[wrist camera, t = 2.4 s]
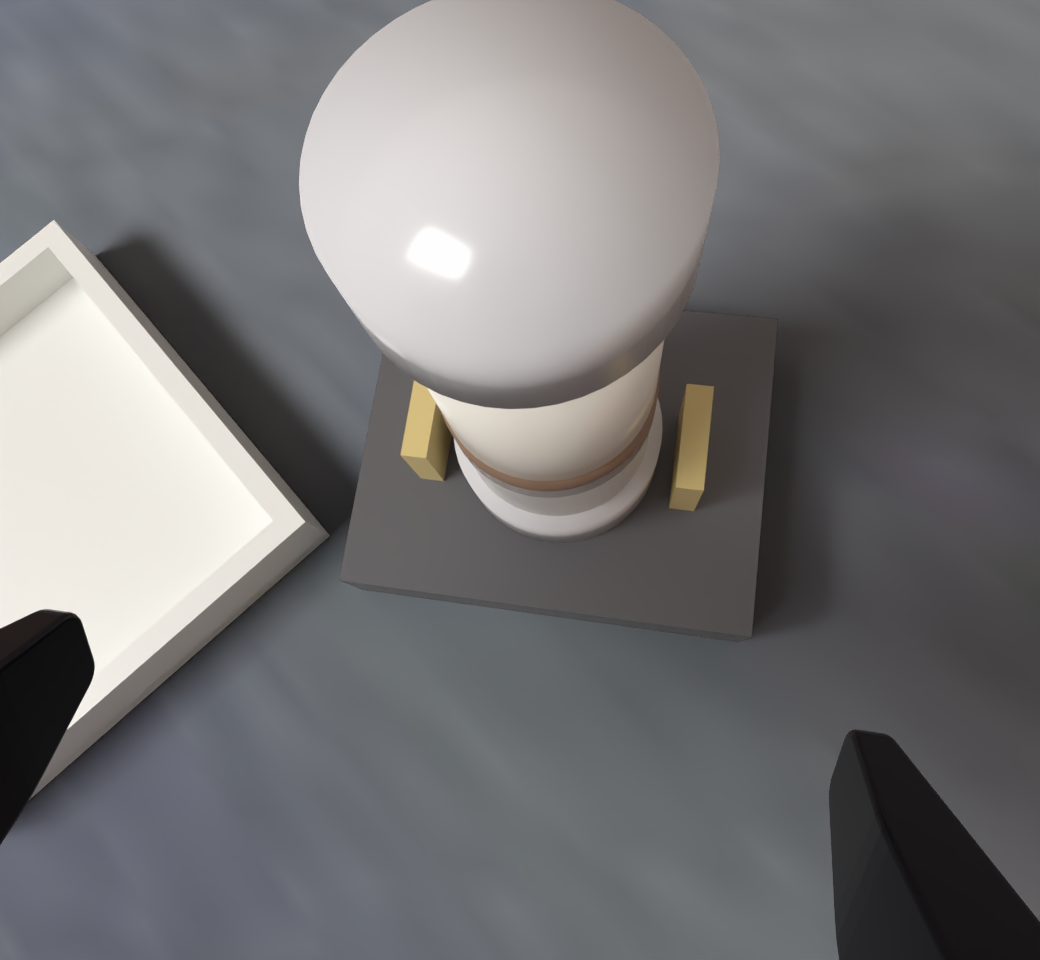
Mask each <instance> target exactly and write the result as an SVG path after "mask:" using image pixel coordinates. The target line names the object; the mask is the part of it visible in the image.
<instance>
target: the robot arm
mask: <svg viewBox="0 0 1040 960" xmlns="http://www.w3.org/2000/svg"><path fill="white" fill-rule="evenodd" d="M94 670H95V662H94V658H93V655H92V652H91V649H90V646H89V643H88V639H87V636H86V633H85V630H84V627H83V624H82V621H81V619H80V618H79V617H78V616H77V615H76V614H74V613H72V612H65V611H59V610H52V609H42V610H38V611H36V612H34V613H31V614H29V615H27V616H25V617H23V618H21V619H19V620H17V621H15V622H13V623H11V624H9V625H6V626H4V627H2V628H0V845H1V843H2V841H3V840H4V838H5V837H6V835H7V834H8V832H9V831H10V829H11V828H12V826H13V825H14V823H15V821H16V820H17V818H18V817H19V815H20V814H21V812H22V811H23V809H24V807H25V806H26V804H27V802H28V801H29V799H30V798H31V796H32V794H33V793H34V791H35V789H36V787H37V785H38V784H39V782H40V780H41V778H42V776H43V775H44V773H45V771H46V769H47V767H48V765H49V763H50V761H51V759H52V757H53V755H54V753H55V751H56V750H57V748H58V746H59V744H60V742H61V740H62V738H63V736H64V734H65V732H66V730H67V728H68V726H69V725H70V723H71V721H72V719H73V717H74V715H75V713H76V711H77V709H78V707H79V705H80V703H81V701H82V699H83V698H84V696H85V694H86V692H87V690H88V688H89V686H90V684H91V682H92V679H93V676H94ZM829 809H830V829H831V849H832V868H833V888H834V908H835V925H836V939H837V947H838V954H839V960H1040V921H1039V920H1038V919H1037V918H1036V916H1035V915H1034V914H1033V913H1032V911H1031V910H1030V909H1029V908H1028V906H1027V905H1026V904H1025V903H1024V901H1023V900H1022V899H1021V898H1020V896H1019V895H1018V894H1017V893H1016V891H1015V890H1014V889H1013V888H1012V886H1011V885H1010V884H1009V883H1008V881H1007V880H1006V879H1005V878H1004V876H1003V875H1002V874H1001V873H1000V871H999V870H998V869H997V868H996V866H995V865H994V864H993V863H992V861H991V860H990V859H989V858H988V856H987V855H986V854H985V853H984V851H983V850H982V849H981V848H980V846H979V845H978V844H977V843H976V841H975V840H974V839H973V838H972V836H971V835H970V834H969V833H968V831H967V830H966V829H965V828H964V826H963V825H962V824H961V823H960V821H959V820H958V819H957V818H956V816H955V815H954V814H953V813H952V811H951V810H950V809H949V808H948V806H947V805H946V804H945V803H944V801H943V800H942V799H941V798H940V796H939V795H938V794H937V793H936V791H935V790H934V789H933V788H932V786H931V785H930V784H929V783H928V781H927V780H926V779H925V778H924V776H923V775H922V774H921V773H920V771H919V770H918V769H917V768H916V766H915V765H914V764H913V763H912V761H911V760H910V759H909V758H908V756H907V755H906V754H905V753H904V751H903V750H902V749H901V748H900V746H899V745H898V744H897V743H896V741H895V740H894V739H893V738H891V737H890V736H888V735H886V734H882V733H875V732H869V731H862V730H852V731H850V732H849V733H848V734H847V735H846V737H845V740H844V743H843V746H842V748H841V751H840V754H839V757H838V760H837V763H836V766H835V769H834V772H833V775H832V778H831V783H830V790H829Z"/></svg>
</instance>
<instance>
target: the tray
mask: <svg viewBox="0 0 1040 960" xmlns="http://www.w3.org/2000/svg"><path fill="white" fill-rule="evenodd" d="M329 536H330V535H329V534H328V533H327V531H326V530H325V529H324V528H323V527H322V525H321V524H320V523H319V522H318V521H317V519H316V518H315V517H314V516H313V515H312V513H311V512H310V511H309V510H308V509H307V507H306V506H305V505H304V504H303V503H302V502H301V500H300V499H299V498H298V497H297V496H296V494H295V493H294V492H293V491H292V490H291V488H290V487H289V486H288V485H287V484H286V482H285V481H284V480H283V479H282V478H281V476H280V475H279V474H278V473H277V472H276V470H275V469H274V468H273V467H272V466H271V465H270V463H269V462H268V461H267V460H266V459H265V457H264V456H263V455H262V454H261V453H260V451H259V450H258V449H257V448H256V447H255V445H254V444H253V443H252V442H251V441H250V439H249V438H248V437H247V436H246V435H245V434H244V432H243V431H242V430H241V429H240V428H239V426H238V425H237V424H236V423H235V422H234V420H233V419H232V418H231V417H230V416H229V414H228V413H227V412H226V411H225V410H224V408H223V407H222V406H221V405H220V404H219V403H218V401H217V400H216V399H215V398H214V397H213V395H212V394H211V393H210V392H209V391H208V389H207V388H206V387H205V386H204V385H203V383H202V382H201V381H200V380H199V379H198V377H197V376H196V375H195V374H194V373H193V371H192V370H191V369H190V368H189V367H188V366H187V364H186V363H185V362H184V361H183V360H182V358H181V357H180V356H179V355H178V354H177V352H176V351H175V350H174V349H173V348H172V346H171V345H170V344H169V343H168V342H167V340H166V339H165V338H164V337H163V336H162V335H161V333H160V332H159V331H158V330H157V329H156V327H155V326H154V325H153V324H152V323H151V321H150V320H149V319H148V318H147V317H146V315H145V314H144V313H143V312H142V311H141V309H140V308H139V307H138V306H137V305H136V303H135V302H134V301H133V300H132V299H131V298H130V296H129V295H128V294H127V293H126V292H125V290H124V289H123V288H122V287H121V286H120V284H119V283H118V282H117V281H116V280H115V278H114V277H113V276H112V275H111V274H110V272H109V271H108V270H107V269H106V268H105V267H104V265H103V264H102V263H101V262H100V261H99V259H98V258H97V257H96V256H95V255H94V254H93V253H92V252H91V251H90V250H88V249H87V248H86V247H85V246H84V245H83V244H81V243H80V242H79V241H78V240H77V239H76V238H74V237H73V236H72V235H71V234H70V233H68V232H67V231H66V230H65V229H64V228H63V227H61V226H60V225H59V224H58V223H57V222H56V221H54V220H53V221H52V222H51V223H50V224H48V225H47V226H46V227H45V228H43V229H42V230H41V231H40V232H38V233H37V234H36V235H35V236H33V237H32V238H31V239H30V240H29V241H27V242H26V243H25V244H24V245H22V246H21V247H20V248H19V249H17V250H16V251H15V252H14V253H12V254H11V255H10V256H9V257H7V258H6V259H5V260H4V261H2V262H1V263H0V628H2V627H4V626H6V625H9V624H11V623H13V622H15V621H17V620H19V619H21V618H23V617H25V616H27V615H29V614H31V613H34V612H36V611H38V610H42V609H52V610H59V611H65V612H72V613H74V614H76V615H77V616H78V617H79V618H80V619H81V621H82V624H83V627H84V630H85V633H86V636H87V639H88V643H89V646H90V649H91V652H92V655H93V658H94V662H95V670H94V676H93V679H92V682H91V684H90V686H89V688H88V690H87V692H86V694H85V696H84V698H83V699H82V701H81V703H80V705H79V707H78V709H77V711H76V713H75V715H74V717H73V719H72V721H71V723H70V725H69V726H68V728H67V730H66V732H65V734H64V736H63V738H62V740H61V742H60V744H59V746H58V748H57V750H56V751H55V753H54V755H53V757H52V759H51V761H50V763H49V765H48V767H47V769H46V771H45V773H44V775H43V776H42V778H41V780H40V782H39V784H38V785H37V787H36V789H35V791H34V793H33V794H32V796H31V798H32V797H33V796H34V795H36V794H37V793H38V792H39V791H40V790H41V789H42V788H43V787H45V786H46V785H47V784H48V783H49V782H50V781H51V780H53V779H54V778H55V777H56V776H57V775H58V774H59V773H61V772H62V771H63V770H64V769H65V768H66V767H67V766H69V765H70V764H71V763H72V762H73V761H74V760H75V759H77V758H78V757H79V756H80V755H81V754H82V753H83V752H84V751H86V750H87V749H88V748H89V747H90V746H91V745H92V744H94V743H95V742H96V741H97V740H98V739H99V738H100V737H102V736H103V735H104V734H105V733H106V732H107V731H108V730H110V729H111V728H112V727H113V726H114V725H115V724H116V723H118V722H119V721H120V720H121V719H122V718H123V717H124V716H125V715H127V714H128V713H129V712H130V711H131V710H132V709H133V708H135V707H136V706H137V705H138V704H139V703H140V702H141V701H143V700H144V699H145V698H146V697H147V696H148V695H149V694H151V693H152V692H153V691H154V690H155V689H156V688H157V687H159V686H160V685H161V684H162V683H163V682H164V681H165V680H166V679H168V678H169V677H170V676H171V675H172V674H173V673H174V672H176V671H177V670H178V669H179V668H180V667H181V666H182V665H184V664H185V663H186V662H187V661H188V660H189V659H190V658H192V657H193V656H194V655H195V654H196V653H197V652H198V651H200V650H201V649H202V648H203V647H204V646H205V645H206V644H207V643H209V642H210V641H211V640H212V639H213V638H214V637H215V636H217V635H218V634H219V633H220V632H221V631H222V630H223V629H225V628H226V627H227V626H228V625H229V624H230V623H231V622H233V621H234V620H235V619H236V618H237V617H238V616H239V615H241V614H242V613H243V612H244V611H245V610H246V609H247V608H248V607H250V606H251V605H252V604H253V603H254V602H255V601H256V600H258V599H259V598H260V597H261V596H262V595H263V594H264V593H266V592H267V591H268V590H269V589H270V588H271V587H272V586H274V585H275V584H276V583H277V582H278V581H279V580H280V579H282V578H283V577H284V576H285V575H286V574H287V573H288V572H289V571H291V570H292V569H293V568H294V567H295V566H296V565H297V564H299V563H300V562H301V561H302V560H303V559H304V558H305V557H307V556H308V555H309V554H310V553H311V552H312V551H313V550H315V549H316V548H317V547H318V546H319V545H320V544H321V543H323V542H324V541H325V540H326V539H327V538H328V537H329ZM31 798H30V799H31ZM30 799H29V800H30Z"/></svg>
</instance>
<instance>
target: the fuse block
mask: <svg viewBox="0 0 1040 960" xmlns="http://www.w3.org/2000/svg"><path fill="white" fill-rule="evenodd" d="M777 325H778V319H774V318H762V317H751V316H740V315H729V314H718V313H707V312H696V311H684V310H683V312H682V314H681V316H680V317H679V319H678V321H677V323H676V324H675V326H674V327H673V328H672V330H671V331H670V332H669V334H668V335H667V336H666V338H665V339H664V344H663V350H662V357H661V363H660V382H659V392H658V400H659V403H660V409H661V414H662V428H663V430H662V441H661V447H660V451H659V456H658V461H657V465H656V469H655V474H654V477H653V480H652V482H651V485H650V487H649V489H648V491H647V493H646V495H645V496H644V498H643V499H642V501H641V502H640V504H639V505H638V506H637V508H636V509H635V510H634V511H633V512H632V513H631V514H630V515H629V516H628V517H627V518H626V519H625V520H623V521H622V522H621V523H619V524H618V525H617V526H615V527H614V528H612V529H610V530H609V531H607V532H605V533H603V534H600V535H598V536H596V537H593V538H589V539H586V540H582V541H576V542H570V543H553V542H543V541H539V540H535V539H531V538H528V537H526V536H523V535H521V534H518V533H517V532H515V531H513V530H511V529H509V528H508V527H506V526H505V525H504V524H502V523H501V522H499V521H498V520H497V519H496V518H495V517H494V516H493V515H492V514H491V513H490V512H489V511H488V510H487V509H486V507H485V506H484V505H483V503H482V502H481V501H480V499H479V498H478V496H477V495H476V493H475V492H474V490H473V489H472V487H471V486H470V484H469V483H468V481H467V479H466V477H465V476H464V474H463V472H462V469H461V467H460V464H459V462H458V458H457V454H456V451H455V444H454V437H453V435H452V434H451V432H450V430H449V429H448V427H447V425H446V423H445V420H444V418H443V416H442V413H441V410H440V409H439V407H438V405H437V404H436V402H435V400H434V399H433V397H432V395H431V394H430V392H429V390H428V389H427V387H425V386H423V385H421V384H419V383H418V382H416V381H415V380H413V379H412V378H411V377H409V376H408V375H406V374H405V373H403V372H402V371H401V370H400V369H399V368H397V367H396V366H395V365H394V364H393V363H392V362H391V361H390V360H389V359H388V358H387V357H386V356H385V355H384V354H382V360H381V365H380V370H379V375H378V380H377V386H376V391H375V396H374V401H373V406H372V411H371V417H370V422H369V427H368V432H367V437H366V443H365V448H364V453H363V458H362V463H361V468H360V474H359V479H358V484H357V489H356V494H355V500H354V505H353V510H352V515H351V520H350V525H349V531H348V536H347V541H346V546H345V551H344V557H343V562H342V567H341V572H340V577H339V580H340V581H342V582H345V583H347V584H350V585H352V586H354V587H357V588H359V589H362V590H369V591H376V592H384V593H391V594H398V595H405V596H413V597H420V598H427V599H434V600H441V601H449V602H456V603H463V604H470V605H477V606H485V607H492V608H499V609H506V610H513V611H521V612H528V613H535V614H542V615H549V616H557V617H564V618H571V619H578V620H586V621H593V622H600V623H607V624H614V625H622V626H629V627H636V628H643V629H650V630H658V631H665V632H672V633H679V634H686V635H694V636H701V637H708V638H715V639H723V640H730V641H737V642H740V641H742V640H745V639H748V638H751V637H752V628H753V616H754V604H755V592H756V580H757V568H758V556H759V543H760V531H761V519H762V507H763V495H764V483H765V470H766V458H767V446H768V434H769V422H770V410H771V397H772V385H773V373H774V361H775V349H776V337H777Z"/></svg>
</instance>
